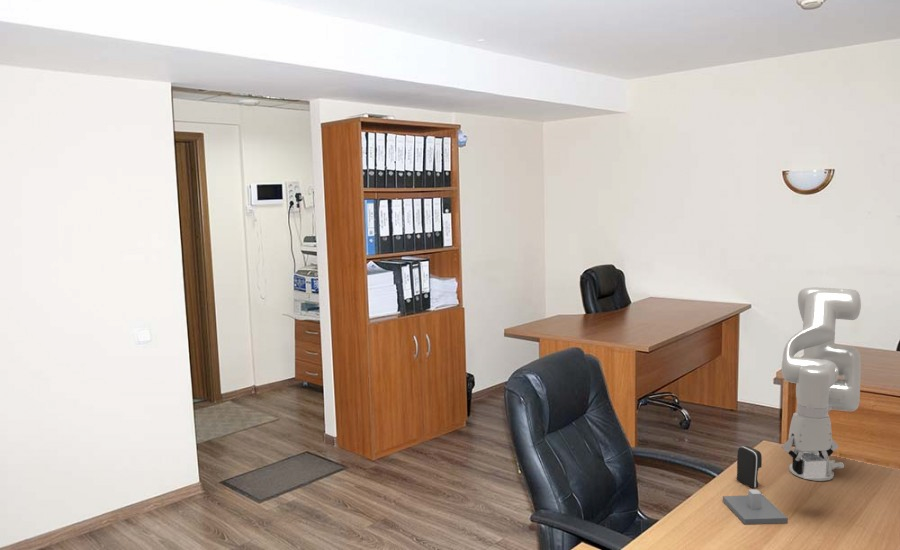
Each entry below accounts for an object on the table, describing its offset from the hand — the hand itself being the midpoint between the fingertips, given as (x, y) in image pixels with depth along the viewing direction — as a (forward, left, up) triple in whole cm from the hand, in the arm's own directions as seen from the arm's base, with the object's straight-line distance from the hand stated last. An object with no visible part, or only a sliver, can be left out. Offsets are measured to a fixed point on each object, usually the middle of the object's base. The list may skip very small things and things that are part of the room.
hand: (808, 471), depth 192 cm
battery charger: (+7, -20, -12) cm, 24 cm away
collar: (0, 0, -1) cm, 1 cm away
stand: (+14, -2, -12) cm, 19 cm away
